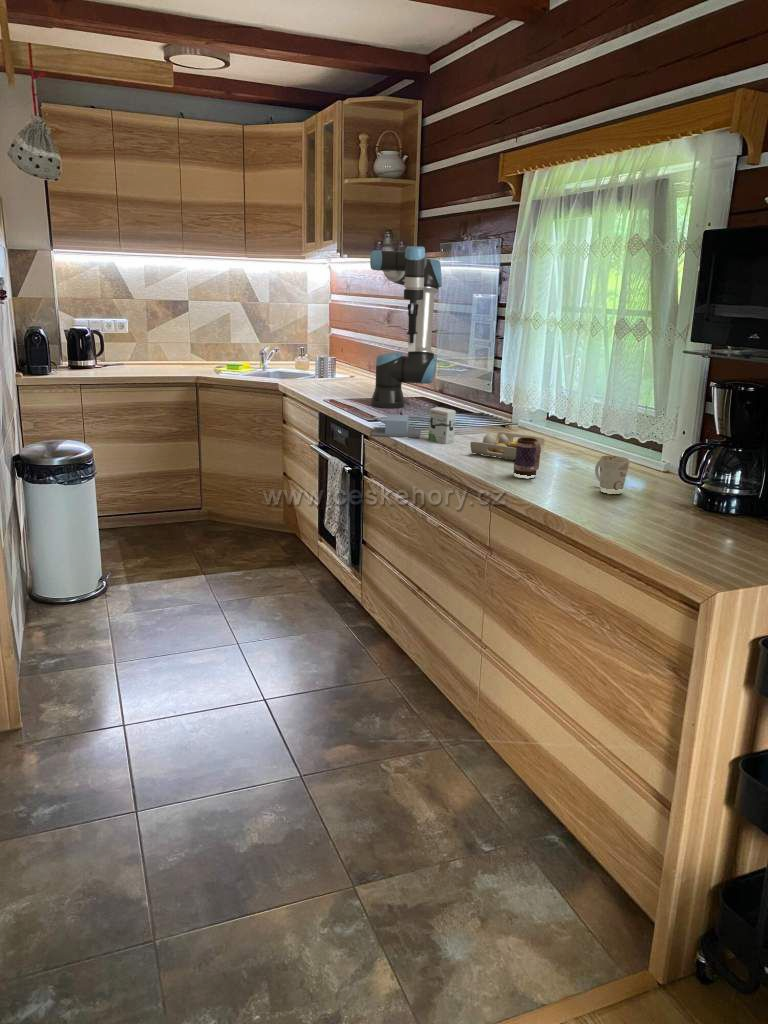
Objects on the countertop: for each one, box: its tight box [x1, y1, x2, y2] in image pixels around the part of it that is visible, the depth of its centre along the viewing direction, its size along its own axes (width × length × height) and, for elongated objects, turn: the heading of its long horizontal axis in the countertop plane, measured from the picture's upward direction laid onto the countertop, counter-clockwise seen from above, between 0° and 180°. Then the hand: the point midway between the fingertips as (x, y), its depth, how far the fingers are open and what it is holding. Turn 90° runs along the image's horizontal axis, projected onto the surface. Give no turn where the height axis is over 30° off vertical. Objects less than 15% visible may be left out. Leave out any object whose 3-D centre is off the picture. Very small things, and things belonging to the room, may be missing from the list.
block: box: [384, 414, 410, 435], centre depth 299 cm, size 5×8×12 cm
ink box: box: [427, 406, 457, 445], centre depth 285 cm, size 9×5×12 cm, turn 47°
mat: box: [370, 426, 422, 439], centre depth 298 cm, size 14×18×1 cm
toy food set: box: [470, 431, 546, 461], centre depth 273 cm, size 25×18×8 cm
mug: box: [594, 455, 631, 490], centre depth 229 cm, size 8×13×10 cm, turn 24°
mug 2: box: [513, 437, 542, 476], centre depth 240 cm, size 10×7×12 cm
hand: (411, 350), depth 310 cm, fingers closed
